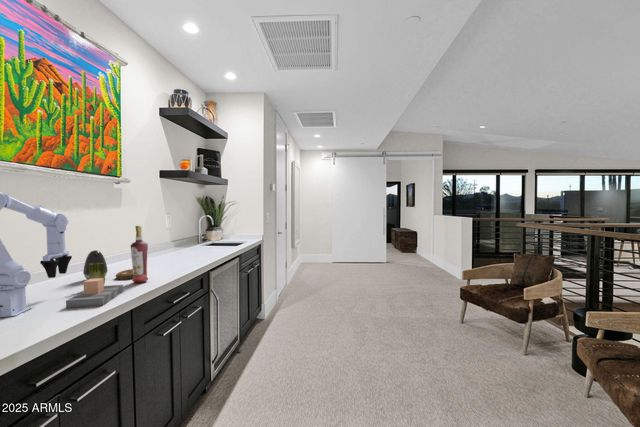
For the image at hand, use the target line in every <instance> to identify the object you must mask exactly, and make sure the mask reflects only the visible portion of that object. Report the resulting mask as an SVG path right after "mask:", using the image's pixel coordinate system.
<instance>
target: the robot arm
mask: <svg viewBox="0 0 640 427" xmlns="http://www.w3.org/2000/svg"><path fill="white" fill-rule="evenodd" d="M44 207H45V206H43V205H39V204H38V205H33V206H32V205H29V204H27V203H25V202H22V201H21V200H18V199H16V198H15V197H12V196H10V195H9V194H7V193H5V192H4V193H3V192H2V191H0V211H1V210H2V209H3V208H4V209H8V210H11V211H15V212H18V213H21V214H24V215H25V216H26V219H28V220H31V221H34V222H36V223H39V224H42V226H43V227H44V228H46V251H47V254H45V255H43V256H42V260H40V261H39V262H40V265H41V266H42V267H43V268H44V270H45V273H46V275H47V277H48V279H54V278H56V277H57V276H56V275H57V269H58V274H60V275H61V274H62V275H63V274H64V275H65V274H67V271H68V266H69V264H70V262H71V260H72V258H73V256H72V255H70V250H66V230H67V226H68V224H69V219H68V218H67V216H66V215H65V214H62V213H56V212H55V210H49V209H47V208H44ZM31 278H32V274H31V272H30V271H29V270H28V269H26V268H25V267H24V266H23V265H22V264H21V263H20V262H19V263H18V262H17V261H15V260H14V259H13V258H12V256H11V254H10V253H9V251H8V250H7V247H6V246H5V244H4V242H3V241H2V240H1V238H0V318H8V317H16V316H17V315H18V316H19V315H21V314H22V313H24V312H26V311H28V310H31V309H33V306H31V305H30V306H27V299H26V298H27V295H26V287H27V285H28V284H29V283H30V281H31Z"/></svg>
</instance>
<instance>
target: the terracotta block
mask: <svg viewBox="0 0 640 427" xmlns="http://www.w3.org/2000/svg"><path fill="white" fill-rule="evenodd" d="M104 286H105V284H104V278H97V279H89V280H88V279H86V280H84V281H83V291H84V294H97V293H100V292H102V291H103V290H104Z"/></svg>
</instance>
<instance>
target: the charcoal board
mask: <svg viewBox="0 0 640 427" xmlns="http://www.w3.org/2000/svg"><path fill="white" fill-rule="evenodd" d="M123 292H124V284H116V285H115V284H113V285H104V290H103V291H102V292H100V293H97V294H84V290H83V291H81V292H80V293H77V294H76V295H74V296H72V297H70V298H68V299H67V300H65V309H67V310H68V309H80V308H93V306H94V307H103V305H104V306H105V305H107V303H109V302H110V301H112V300H114V299H115V298H116V297H118V296H119V295H121V294H122V293H123Z"/></svg>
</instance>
